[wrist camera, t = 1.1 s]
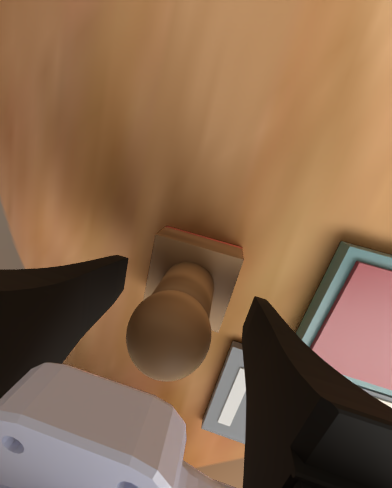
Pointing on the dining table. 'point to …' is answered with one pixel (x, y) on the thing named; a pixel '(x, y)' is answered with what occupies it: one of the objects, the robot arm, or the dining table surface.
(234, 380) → the sheet board
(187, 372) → the stamp
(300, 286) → the dining table surface
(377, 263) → the ink pad
